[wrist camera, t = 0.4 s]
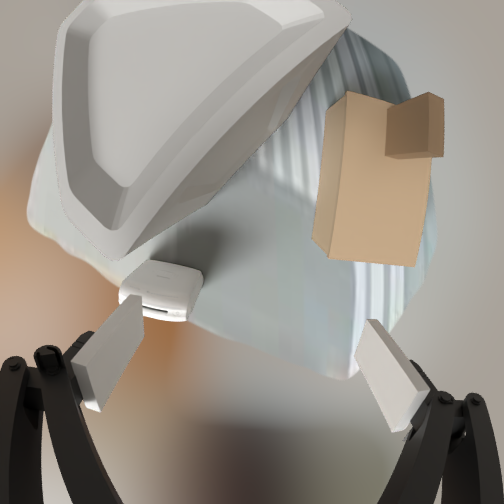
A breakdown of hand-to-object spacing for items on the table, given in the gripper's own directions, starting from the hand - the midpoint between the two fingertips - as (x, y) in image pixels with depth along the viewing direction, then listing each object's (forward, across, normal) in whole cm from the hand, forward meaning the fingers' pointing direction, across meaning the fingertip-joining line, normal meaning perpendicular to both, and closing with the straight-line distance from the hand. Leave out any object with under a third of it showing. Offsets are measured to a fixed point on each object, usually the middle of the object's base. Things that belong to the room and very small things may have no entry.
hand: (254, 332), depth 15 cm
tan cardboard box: (+17, +15, +10) cm, 25 cm away
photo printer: (+28, -12, -8) cm, 31 cm away
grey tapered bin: (+28, -8, +15) cm, 32 cm away
